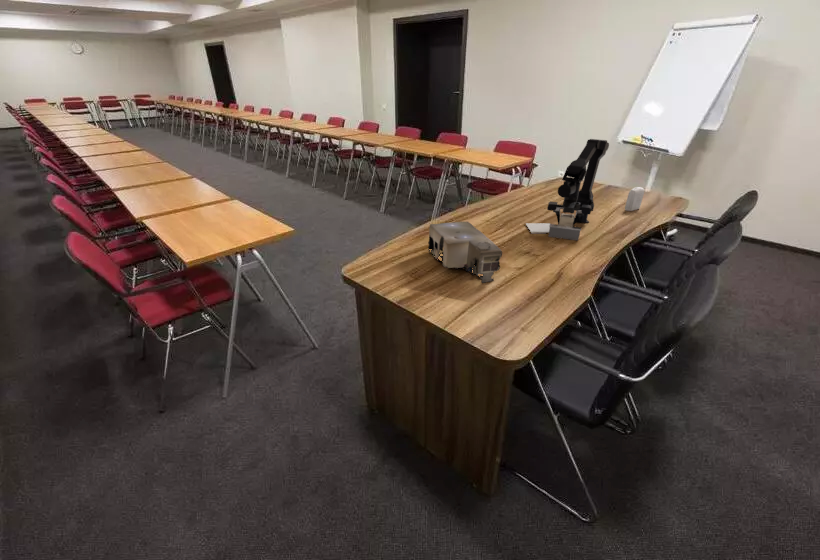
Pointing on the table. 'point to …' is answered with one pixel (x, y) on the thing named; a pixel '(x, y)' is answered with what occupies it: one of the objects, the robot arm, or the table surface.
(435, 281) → the table surface
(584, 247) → the table surface
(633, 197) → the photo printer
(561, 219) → the letter cube
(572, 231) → the screen
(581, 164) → the robot arm
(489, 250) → the projector
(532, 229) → the mat
